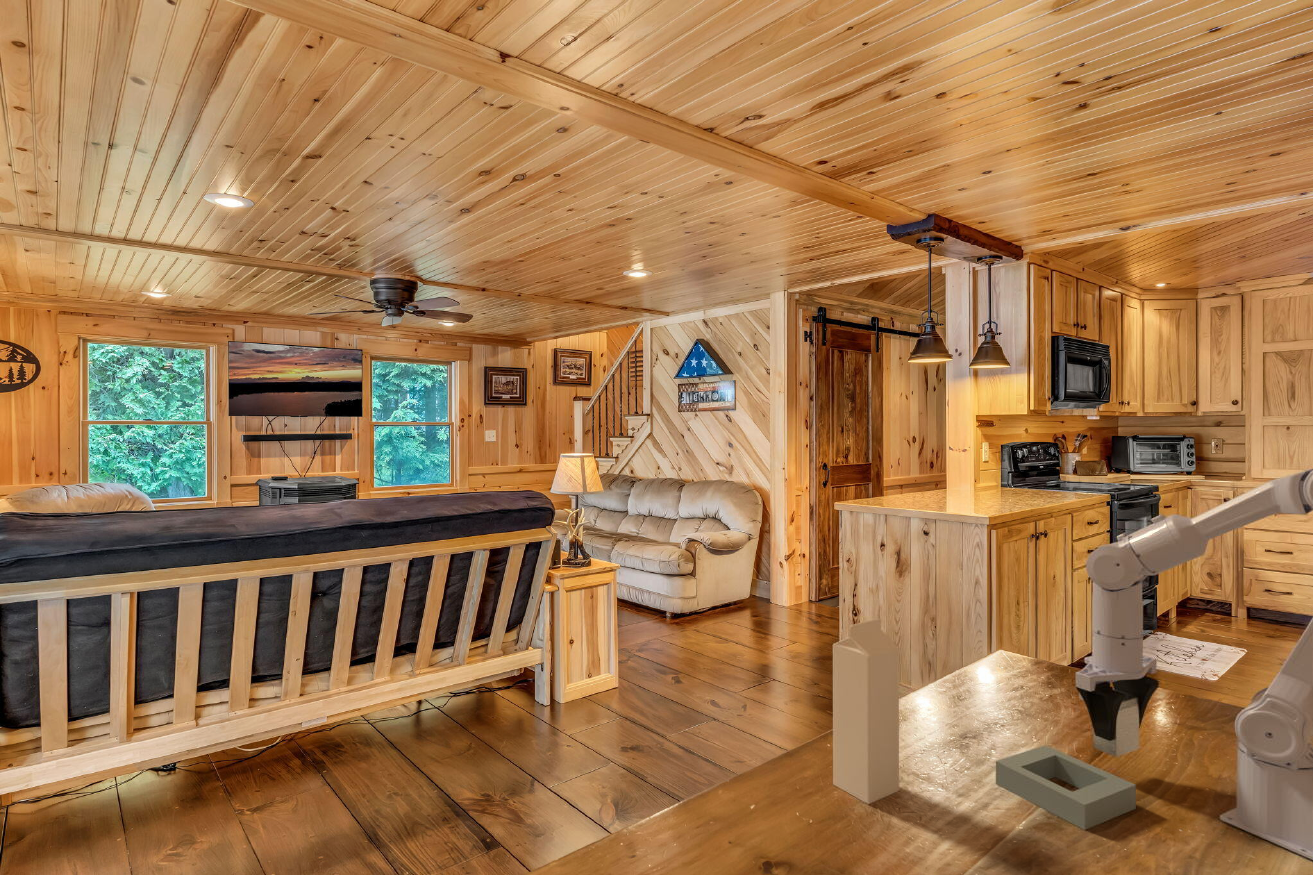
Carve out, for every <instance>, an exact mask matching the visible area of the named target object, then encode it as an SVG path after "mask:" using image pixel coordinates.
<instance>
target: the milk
mask: <svg viewBox="0 0 1313 875" xmlns="http://www.w3.org/2000/svg"><path fill="white" fill-rule="evenodd" d="M899 648H900V647H898V645H897V644H896V643H895V642H894V641H893V640H892V639H891V638H890V637H889V636H888V635H887V634H886V633H885V632H884V630H882V620H881V618H874V619H872V620H867V621H863V622H859V623H854V624H851V625H850V626H849V637H846V638H844V639H841V640H839V641H837V642H835V643H833V644H832V760H833V761H832V765H833V766H832V768H833V770H832V775H833V776H832V777H833V778H832V780H833V782H832V784H833V786H835V787H837V788H838V789H840V790H843V791H844V792H846V793H847V794H848V795H851V796H852V797H853V798H856V799H858V800H860V801H861V802H863V803H865V804H867V805H870V804H873V803H874V802H877V801H879V800H881V799H883V798H886V797H888V796H890V795H894V794H895V793H897V792H899V791H900V728H899V727H900V649H899Z"/></svg>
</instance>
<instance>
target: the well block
mask: <svg viewBox="0 0 1313 875" xmlns="http://www.w3.org/2000/svg"><path fill="white" fill-rule="evenodd" d="M1053 778H1056V779H1059V780H1061V781H1063V782H1065V783H1067V784H1069V785H1071V786H1073V787H1075V788H1077V789H1076V790H1074V791H1071V790H1069V789H1067V788H1065V787H1063V786H1061V785H1059V784H1057V783H1055V782H1053V781H1051V779H1053ZM995 784H996V785H998V786H1000V787H1001V788H1004V789H1006V790H1007V791H1009V792H1011V793H1013V794H1015V795H1017V796H1019V797H1021V798H1023V799H1024V800H1026V801H1029V802H1030V803H1032V804H1034V805H1035V806H1038V807H1039V808H1042V809H1044V810H1045V811H1048V812H1050V813H1051V814H1053V815H1055V816H1057V817H1059V818H1060V819H1062V820H1064V821H1066V822H1068V823H1071V824H1072V825H1073V826H1075V827H1078V828H1079V829H1082V830H1084V831H1086V830H1088V829H1091V828H1093V827H1095V826H1098V825H1101V824H1102V823H1105V822H1107V821H1109V820H1112V819H1115V818H1117V817H1119V816H1121V815H1124V814H1126V813H1129V812H1131V811H1133V810H1136V809H1137V808H1136V806H1137V804H1136V802H1137V796H1136V795H1137V785H1136V784H1135V783H1133V782H1130V781H1129V780H1126V779H1124V778H1121V777H1119V776H1117V775H1114V774H1112V773H1110V772H1108V771H1105V770H1103V769H1101V768H1099V767H1097V766H1094V765H1092V764H1089V763H1088V762H1085V761H1083V760H1080V759H1078V758H1075V757H1073V756H1071V755H1069V754H1067V753H1065V752H1062V751H1060V750H1057V749H1055V748H1052V747H1051V746H1048V745H1045V744H1044V745H1042V746H1038V747H1035V748H1032V749H1029V750H1026V751H1022V752H1019V753H1017V754H1014V755H1013V754H1012V755H1010V756H1007V757H1004V758H1001V759H998V760H995Z"/></svg>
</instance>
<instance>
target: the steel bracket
mask: <svg viewBox="0 0 1313 875" xmlns="http://www.w3.org/2000/svg"><path fill="white" fill-rule="evenodd" d="M1113 690H1115V689H1114V688H1113ZM1115 691H1118V690H1115ZM1118 692H1121V693H1125V692H1122V691H1118ZM1125 694H1126V696H1125V697H1124V699H1123V701H1122V703H1121V705H1120V708H1119V711H1118V715H1117V723H1116V732H1115V736H1114V739H1113V740H1112V741H1108V740H1106V739H1103V738H1101V737H1098V736H1096V735H1095V733H1094V732H1093V748H1094V749H1095V750H1098V751H1101V752H1103V753H1105V754H1107V755H1110V756H1113V757H1115V758H1118V757H1120V756H1122V755H1123V756H1124V755H1126V754H1129V753H1132V752H1134V751H1138V750H1140V728H1139V697H1137V696H1134V695H1131V694H1128V693H1125ZM1078 699H1079V700H1082V701H1084V700H1083V698H1082V696H1081V695H1080V693H1079V692H1078Z"/></svg>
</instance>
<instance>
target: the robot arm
mask: <svg viewBox="0 0 1313 875" xmlns="http://www.w3.org/2000/svg"><path fill="white" fill-rule="evenodd" d="M1311 512H1313V468H1310V469H1306V470H1303V471H1298V472H1296V473H1293V474H1289V475H1285V476H1281V477H1278V478H1276V479H1272V480H1270V481H1267V482H1264V483H1263V484H1261V485H1258V486H1256V487H1254V488H1252V489H1250V490H1249V491H1246V492H1244V493H1242V494H1240V495H1238V496H1236V497H1234V498H1232V499H1230V500H1227V501H1225V502H1223V503H1221V504H1218V505H1217V506H1215V507H1213V508H1211V509H1208V510H1207V511H1205V512H1202V513H1201V514H1198V515H1196V516H1195V517H1189V516H1184V515H1180V514H1176V513H1175V514H1171V515H1168V516H1167V517H1166V514H1159V515H1157V516H1155V517H1153V518H1151V519H1150V520H1151V522H1152V523H1151V524H1149V525H1147V526H1145V527H1143V528H1141V529H1140V528H1139V530H1136V531H1134V532H1132V533H1130V534H1128V533H1127V532H1123V533H1121V534H1119V535H1117V536H1116V539H1117V541H1116V542H1112V543H1109V544H1103V545H1099V546H1098V547H1097V548H1096V549H1094V550H1093V551H1092V552H1090V554H1089V555H1088V557H1087V559H1086V563H1085V569H1086V573H1087V576H1088V577H1089V579H1090V580H1091V581H1092V598H1091V599H1092V601H1091V602H1092V603H1091V604H1092V605H1091V608H1092V609H1091V611H1092V612H1091V615H1092V618H1091V619H1092V620H1091V621H1092V622H1091V625H1092V626H1091V631H1092V633H1091V634H1092V637H1091V638H1092V639H1091V640H1092V642H1091V643H1092V644H1091V646H1092V649H1091V650H1092V652H1091V655H1090V656H1086V657H1084V663H1085V664H1086V665H1085V667H1083V668H1082V669H1081V670H1079V671H1076V672H1075V689H1076V690H1077V691H1078V694H1079V693H1080V695H1081V696H1082V698H1083V700H1082V701H1083V702H1084V705H1085V706H1086V709H1087V711H1088V715H1089V717H1090V722H1091V725H1092V729H1093V734H1094V733H1095V735H1096V736H1098V737H1101V738H1103V739H1106V740H1108V741H1112V740H1113V739H1114V736H1115V732H1116V723H1117V715H1118V711H1119V708H1120V705H1121V703H1122V701H1123V699H1124V697H1125V696H1126V694H1125V693H1128V694H1131V695H1134V696H1137V697H1139V729H1140V728H1141V725H1142V722H1143V719H1144V716H1145V712H1146V709H1147V706H1148V704H1149V701H1151V700H1150V699H1151V698H1152V697H1153V695H1154V693H1155V692H1156V691H1157V689H1158V688H1159V680H1157V679H1155V678H1153V677H1149V676H1147V674H1151V675H1153V674H1156V673H1157V658H1154V657H1150V656H1147V655H1144V601H1143V581H1144V580H1145V579H1146V578H1147V577H1148V576H1156V575H1158V574H1161V573H1163V572H1167V571H1169V570H1170V569H1173V568H1175V567H1178V566H1181V565H1182V564H1185V563H1188V562H1190V561H1193V560H1195V559H1197V558H1201V557H1202V556H1204V555H1205V554H1206V550H1207V546H1208V544H1209V541H1210V540H1212V539H1215V538H1217V537H1220V536H1222V535H1224V534H1227V533H1230V532H1232V531H1235V530H1237V529H1239V528H1242V527H1245V526H1247V525H1250V524H1252V523H1255V522H1257V521H1260V520H1263V519H1265V518H1268V517H1271V516H1273V515H1276V514H1283V515H1284V514H1286V515H1299V516H1301V515H1303V516H1304V515H1307V514H1310V513H1311ZM1111 683H1112V686H1111ZM1113 689H1115V690H1118V691H1122V692H1125V693H1121V692H1118V691H1115V690H1113ZM1234 730H1235V735H1236V737H1237V742H1236V743H1237V744H1236V745H1237V751H1236V753H1237V756H1236V758H1237V759H1236V761H1237V762H1236V763H1237V764H1236V806H1235V808H1232V809H1230V810H1228V811H1226V812H1223V813H1222V814H1220V815H1219V819H1220V820H1221V821H1222V822H1225V823H1228V824H1229V825H1231V826H1234V827H1235V828H1238V829H1241V830H1244V831H1245V832H1247V833H1250V834H1252V835H1255V836H1257V837H1259V838H1261V839H1263V840H1265V841H1266V840H1267V841H1268V842H1270V843H1273V844H1275V845H1278V846H1280V847H1282V848H1284V849H1287V850H1289V851H1291V852H1294V853H1295V854H1297V855H1300V856H1303V857H1305V858H1307V859H1310V860H1311V861H1313V745H1312V744H1311V743H1310V742H1311V739H1312V737H1313V617H1312V618H1311V619H1310V622H1309V623H1308V625H1307V627H1306V628H1305V630H1304V632H1303V633H1302V635H1301V636H1300V637H1299V639H1298V641H1297V642H1296V644H1295V645H1294V647H1293V648H1292V650H1291V652H1290V654H1289V656H1287V658H1286V659H1285V662H1284V663H1283V665H1282V667H1281V668H1280V669H1279V671H1278V673H1277V675H1276V676H1274V679H1273V680H1272V681H1271V683H1270V685H1269V686H1267V687H1264V688H1262V689H1260V690H1258V691H1257V692H1256V693H1255V694H1254V695H1253V697H1252V698H1251V702H1249V704H1248V705H1247V706H1246V707H1245V708H1243V709H1242V710H1241V711H1240V712H1239V713H1237V716H1236V718H1235V721H1234Z"/></svg>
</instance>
